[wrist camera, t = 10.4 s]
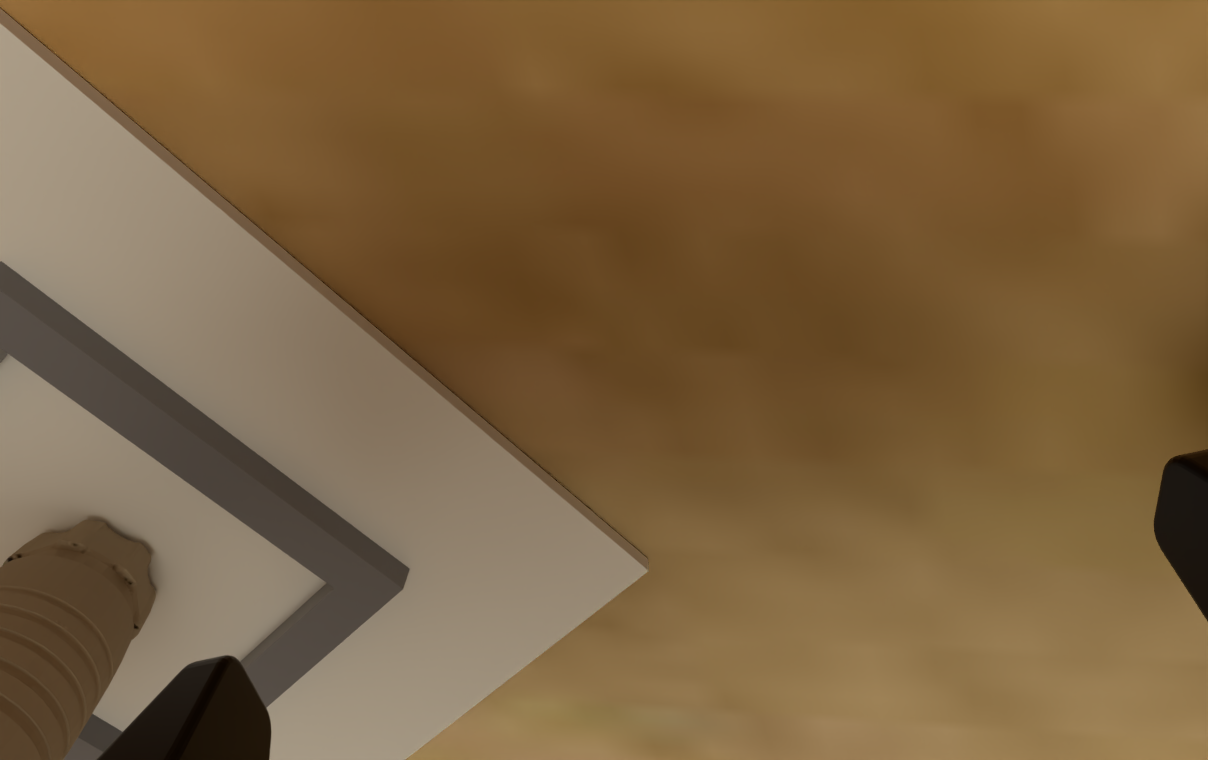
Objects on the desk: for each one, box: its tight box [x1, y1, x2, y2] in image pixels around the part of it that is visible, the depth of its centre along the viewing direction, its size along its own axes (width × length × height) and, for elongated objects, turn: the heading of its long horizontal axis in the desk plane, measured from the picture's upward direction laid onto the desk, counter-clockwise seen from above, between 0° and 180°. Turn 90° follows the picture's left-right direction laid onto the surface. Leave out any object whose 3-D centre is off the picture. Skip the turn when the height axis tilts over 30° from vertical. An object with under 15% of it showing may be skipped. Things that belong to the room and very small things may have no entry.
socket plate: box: [0, 8, 649, 760], centre depth 22 cm, size 20×20×1 cm
